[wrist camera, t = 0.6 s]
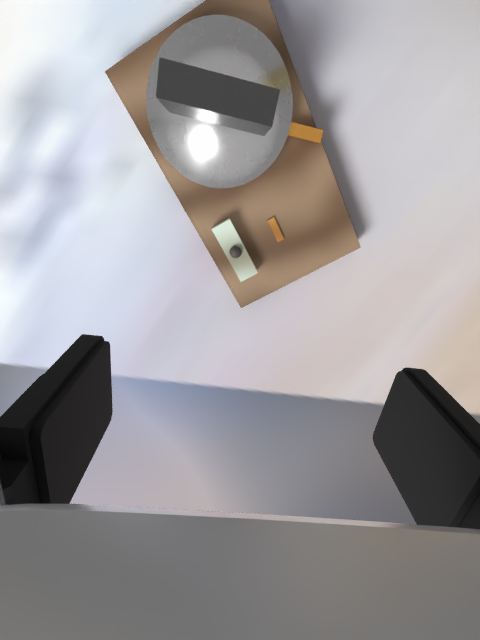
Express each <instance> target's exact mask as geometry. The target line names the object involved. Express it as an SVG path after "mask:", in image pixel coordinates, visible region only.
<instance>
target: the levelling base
mask: <svg viewBox="0 0 480 640" xmlns="http://www.w3.org/2000/svg"><path fill="white" fill-rule="evenodd" d="M207 15H227V16H232V17H236V18H239V19H241V20H244V21H246V22H248V23H249V24H251V25H253V26H255V27H256V28H257V29H258V30H260V31H261V32H262V33H263V34H264V35H265V36H266V37H267V38H268V39H269V40H270V41H271V42H272V44H273V45H274V46H275V48H276V49H277V50H278V52H279V54H280V56H281V58H282V59H283V62H284V64H285V66H286V69H287V71H288V75H289V79H290V82H291V89H292V98H293V110H292V120H291V122H294V123H297V124H301V125H305V126H309V127H313V128H316V126H315V123H314V121H313V118H312V115H311V113H310V110H309V107H308V104H307V102H306V99H305V96H304V94H303V91H302V88H301V86H300V83H299V80H298V78H297V75H296V72H295V70H294V67H293V64H292V61H291V59H290V56H289V53H288V51H287V48H286V45H285V43H284V40H283V37H282V35H281V32H280V29H279V27H278V24H277V21H276V18H275V16H274V13H273V10H272V8H271V5H270V2H269V0H206V1H205V2H203V3H202V4H200V5H199V6H198V7H196V8H195V9H193V10H192V11H190V12H189V13H188V14H186V15H185V16H183V17H182V18H180V19H179V20H178V21H176V22H175V23H173V24H172V25H171V26H169V27H168V28H166V29H165V30H163V31H162V32H161V33H159V34H158V35H156V36H155V37H153V38H152V39H151V40H149V41H148V42H146V43H145V44H143V45H142V46H141V47H139V48H138V49H136V50H135V51H133V52H132V53H131V54H129V55H128V56H126V57H125V58H124V59H122V60H121V61H119V62H118V63H116V64H115V65H114V66H112V67H111V68H109V69H108V70H106V71H105V73H106V74H107V76H108V78H109V79H110V81H111V83H112V85H113V86H114V88H115V90H116V92H117V93H118V95H119V97H120V99H121V100H122V102H123V104H124V106H125V107H126V109H127V111H128V112H129V114H130V116H131V118H132V119H133V121H134V123H135V125H136V126H137V128H138V130H139V132H140V133H141V135H142V137H143V138H144V140H145V142H146V144H147V145H148V147H149V149H150V151H151V152H152V154H153V156H154V158H155V159H156V161H157V163H158V164H159V166H160V168H161V170H162V171H163V173H164V175H165V177H166V178H167V180H168V182H169V184H170V185H171V187H172V189H173V191H174V192H175V194H176V196H177V197H178V199H179V201H180V203H181V204H182V206H183V208H184V210H185V211H186V213H187V215H188V217H189V218H190V220H191V222H192V223H193V225H194V227H195V229H196V230H197V232H198V234H199V236H200V237H201V239H202V241H203V243H204V244H205V246H206V248H207V250H208V251H209V253H210V255H211V256H212V258H213V260H214V262H215V263H216V265H217V267H218V269H219V270H220V272H221V274H222V276H223V277H224V279H225V281H226V282H227V284H228V286H229V288H230V289H231V291H232V293H233V295H234V296H235V298H236V300H237V302H238V303H239V305H240V307H241V308H242V307H244V306H246V305H248V304H250V303H252V302H254V301H256V300H258V299H260V298H262V297H264V296H266V295H268V294H270V293H272V292H274V291H276V290H278V289H280V288H282V287H284V286H286V285H288V284H289V283H291V282H293V281H295V280H297V279H299V278H301V277H303V276H305V275H307V274H309V273H311V272H313V271H315V270H317V269H319V268H321V267H323V266H325V265H327V264H329V263H331V262H333V261H335V260H337V259H339V258H341V257H343V256H345V255H347V254H349V253H351V252H353V251H355V250H356V249H358V248H360V244H359V242H358V239H357V236H356V233H355V231H354V228H353V225H352V223H351V220H350V217H349V215H348V212H347V209H346V207H345V204H344V201H343V199H342V196H341V193H340V190H339V188H338V185H337V182H336V180H335V177H334V174H333V172H332V169H331V166H330V164H329V161H328V158H327V156H326V153H325V150H324V147H323V145H322V142H320V143H319V144H317V143H313V142H309V141H305V140H301V139H297V138H294V137H290V136H287V139H286V141H285V144H284V146H283V148H282V150H281V152H280V153H279V155H278V157H277V158H276V159H275V161H274V162H273V163H272V165H271V166H270V167H269V168H268V169H267V170H266V171H265V172H263V173H262V174H261V175H260V176H258V177H257V178H255V179H254V180H252V181H250V182H248V183H245V184H243V185H240V186H236V187H231V188H212V187H207V186H204V185H200V184H198V183H196V182H193V181H191V180H189V179H188V178H186V177H185V176H183V175H182V174H181V173H179V172H178V171H177V170H176V169H175V168H174V167H173V166H172V165H171V164H170V163H169V162H168V161H167V159H166V158H165V157H164V155H163V154H162V152H161V151H160V149H159V147H158V146H157V143H156V141H155V139H154V137H153V134H152V131H151V128H150V125H149V120H148V115H147V106H146V90H147V83H148V77H149V73H150V70H151V67H152V64H153V61H154V59H155V57H156V55H157V53H158V51H159V49H160V48H161V46H162V45H163V44H164V42H165V41H166V39H167V38H168V37H169V36H170V35H171V34H172V33H173V32H174V31H175V30H177V29H178V28H179V27H181V26H182V25H183V24H185V23H187V22H189V21H191V20H193V19H196V18H199V17H202V16H207Z"/></svg>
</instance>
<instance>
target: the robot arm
mask: <svg viewBox="0 0 480 640" xmlns="http://www.w3.org/2000/svg"><path fill="white" fill-rule="evenodd" d="M111 416H112V387H111V361H110V344H109V342H108V341H104V338H103V337H102V336H94V335H85V334H83V335H81V336H80V337H79V338H78V339H77V340H76V341H75V342H74V343H73V344H72V345H71V347H70V348H69V349H68V350H67V351H66V352H65V353H64V354H63V355H62V356H61V357H60V358H59V359H58V360H57V361H56V362H55V363H54V364H53V365H52V366H51V367H50V368H49V369H48V370H47V372H46V373H45V374H43V375H42V376H40V377H39V378H38V379H37V380H36V381H35V382H34V383H33V384H32V385H31V386H30V387H29V388H28V389H27V390H26V391H25V392H24V393H23V394H22V395H21V396H20V397H19V398H18V400H16V401H15V403H14V404H13V405H12V406H11V407H10V408H9V409H8V410H7V411H6V412H5V413H4V414H3V415H2V416H1V417H0V640H480V424H479V423H478V422H477V421H476V420H475V419H474V418H473V417H472V416H471V415H470V414H469V413H468V412H467V411H466V410H465V409H464V408H463V407H462V406H461V405H460V404H459V403H458V402H457V401H456V400H455V399H454V398H453V397H452V396H451V395H450V394H449V393H448V392H447V391H446V390H445V389H444V388H443V387H442V386H441V385H440V384H439V383H438V382H437V381H436V380H435V379H434V378H433V377H432V376H431V375H430V374H429V373H428V372H427V371H425V370H423V369H415V368H404V369H403V370H402V371H400V372H398V373H397V374H396V376H395V379H394V382H393V384H392V387H391V389H390V392H389V394H388V397H387V400H386V402H385V405H384V407H383V410H382V413H381V415H380V418H379V420H378V423H377V425H376V428H375V431H374V434H373V441H374V445H375V447H376V449H377V450H378V452H379V454H380V456H381V458H382V460H383V462H384V463H385V465H386V467H387V469H388V471H389V473H390V475H391V477H392V479H393V480H394V482H395V484H396V486H397V488H398V490H399V492H400V493H401V495H402V497H403V499H404V501H405V503H406V504H407V507H408V508H409V510H410V512H411V514H412V516H413V518H414V520H415V522H416V523H417V525H414V524H401V523H387V522H373V521H358V520H343V519H328V518H313V517H297V516H282V515H266V514H250V513H234V512H218V511H217V512H216V511H200V510H183V509H167V508H150V507H130V506H108V505H84V504H69V503H70V501H71V499H72V497H73V495H74V493H75V491H76V489H77V487H78V485H79V483H80V481H81V479H82V477H83V475H84V473H85V471H86V469H87V467H88V465H89V463H90V461H91V459H92V457H93V455H94V453H95V451H96V449H97V447H98V445H99V443H100V441H101V439H102V437H103V435H104V433H105V431H106V429H107V427H108V425H109V423H110V421H111Z"/></svg>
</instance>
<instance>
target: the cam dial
mask: <svg viewBox="0 0 480 640" xmlns="http://www.w3.org/2000/svg"><path fill="white" fill-rule="evenodd" d="M146 106H147V115H148V120H149V125H150V128H151V131H152V134H153V137H154V139H155V141H156V143H157V146H158V147H159V149H160V151H161V152H162V154H163V155H164V157H165V158H166V159H167V161H168V162H169V163H170V164H171V165H172V166H173V167H174V168H175V169H176V170H177V171H178V172H179V173H181V174H182V175H183V176H185V177H186V178H188V179H189V180H191V181H193V182H196V183H198V184H200V185H204V186H207V187H212V188H231V187H236V186H240V185H243V184H245V183H248V182H250V181H252V180H254V179H255V178H257V177H258V176H260V175H261V174H262V173H263V172H265V171H266V170H267V169H268V168H269V167H270V166H271V165H272V163H273V162H274V161H275V159H276V158H277V157H278V155H279V153H280V152H281V150H282V148H283V146H284V144H285V141H286V139H287V136H290V137H294V138H297V139H301V140H305V141H309V142H313V143H317V144H319V143H320V142H321V138H322V135H323V131H324V130H321V129H317V128H313V127H309V126H305V125H301V124H297V123H294V122H291V120H292V110H293V98H292V89H291V82H290V79H289V75H288V71H287V69H286V66H285V64H284V62H283V59H282V58H281V56H280V54H279V52H278V50H277V49H276V48H275V46H274V45H273V44H272V42H271V41H270V40H269V39H268V38H267V37H266V36H265V35H264V34H263V33H262V32H261V31H260V30H258V29H257V28H256V27H255V26H253V25H251V24H249V23H248V22H246V21H244V20H241V19H239V18H236V17H232V16H227V15H207V16H202V17H199V18H196V19H193V20H191V21H189V22H187V23H185V24H183V25H182V26H181V27H179V28H178V29H177V30H175V31H174V32H173V33H172V34H171V35H170V36H169V37H168V38H167V39H166V41H165V42H164V44H163V45H162V46H161V48H160V49H159V51H158V53H157V55H156V57H155V59H154V61H153V64H152V67H151V70H150V73H149V77H148V83H147V90H146Z"/></svg>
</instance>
